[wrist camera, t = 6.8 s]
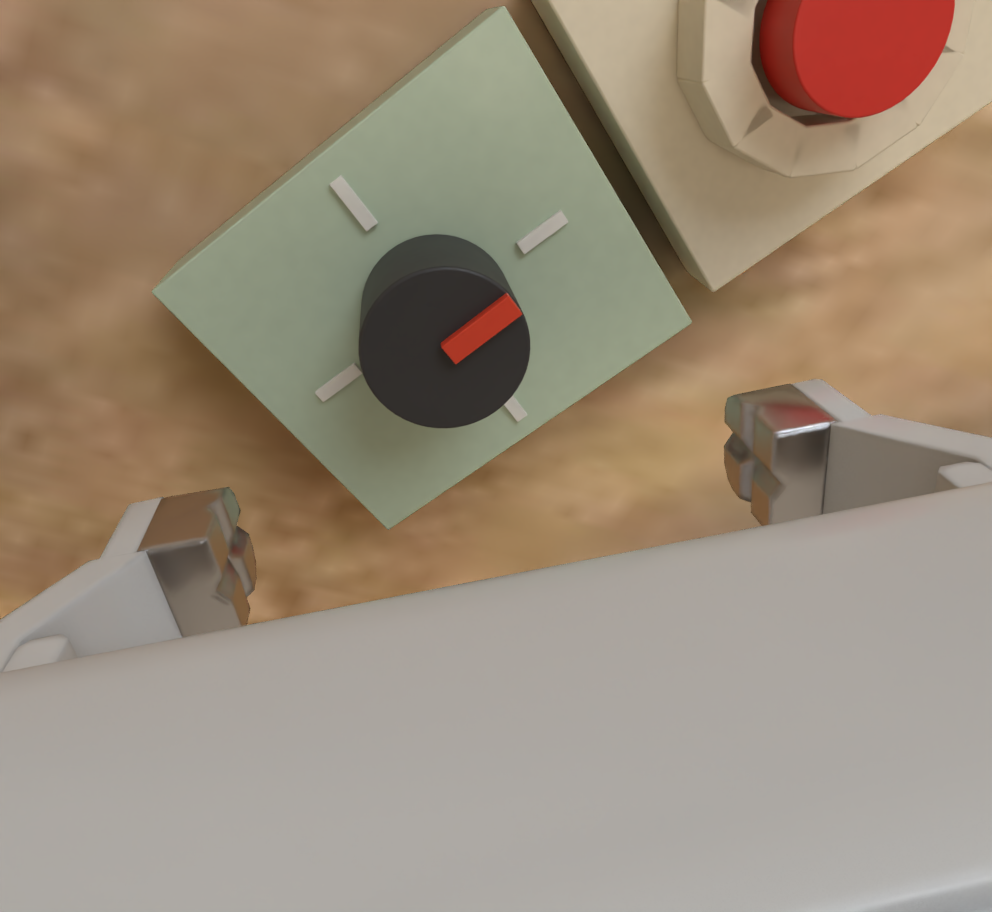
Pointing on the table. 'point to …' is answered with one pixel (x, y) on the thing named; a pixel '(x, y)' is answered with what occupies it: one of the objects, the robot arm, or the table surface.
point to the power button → (851, 51)
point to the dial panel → (416, 212)
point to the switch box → (744, 121)
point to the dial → (441, 333)
